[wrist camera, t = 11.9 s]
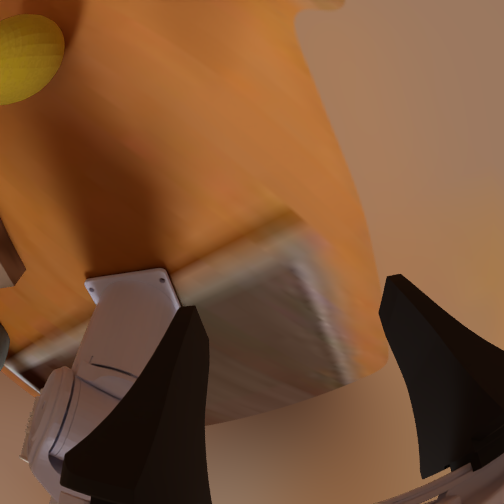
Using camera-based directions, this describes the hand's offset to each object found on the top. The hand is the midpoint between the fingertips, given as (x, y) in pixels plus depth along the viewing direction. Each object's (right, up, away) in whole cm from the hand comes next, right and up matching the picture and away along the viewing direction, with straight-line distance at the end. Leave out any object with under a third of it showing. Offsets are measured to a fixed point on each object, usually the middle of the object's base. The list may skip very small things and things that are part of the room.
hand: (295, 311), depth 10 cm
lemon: (-15, +15, +1) cm, 21 cm away
